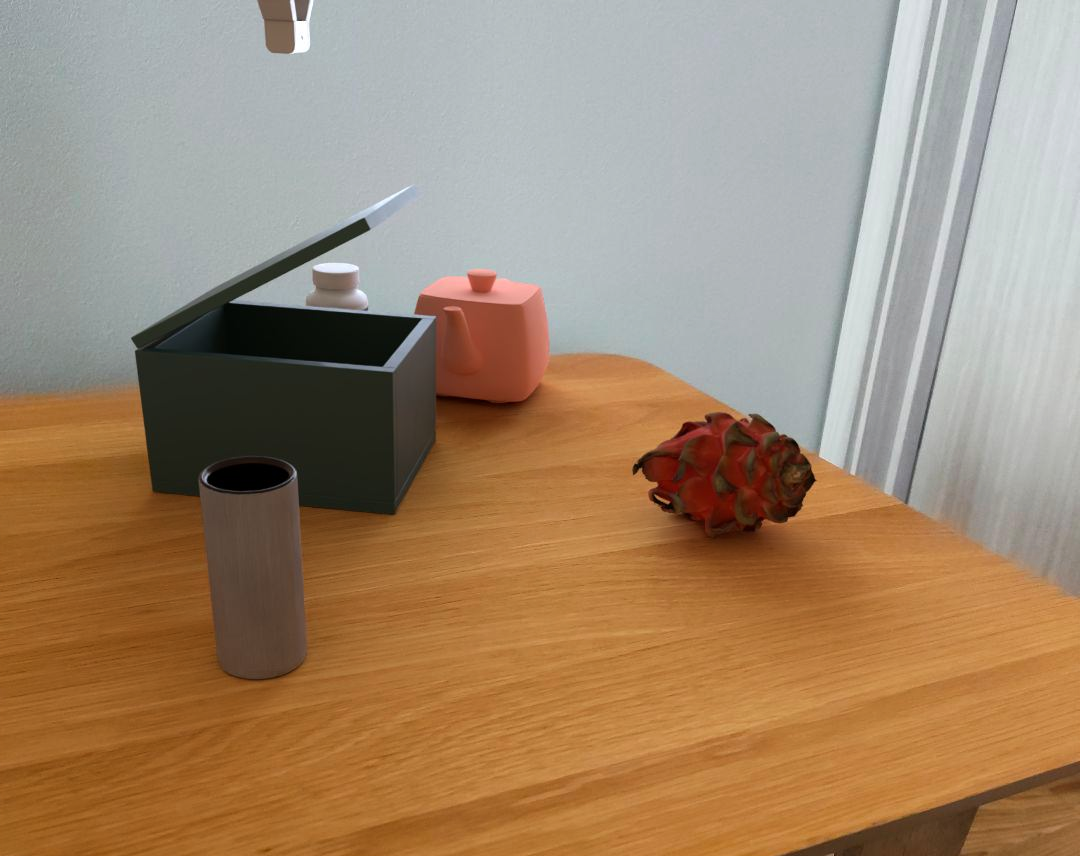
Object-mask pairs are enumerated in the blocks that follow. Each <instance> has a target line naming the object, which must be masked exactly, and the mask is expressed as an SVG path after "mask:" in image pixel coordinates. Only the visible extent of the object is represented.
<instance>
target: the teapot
mask: <svg viewBox="0 0 1080 856" xmlns="http://www.w3.org/2000/svg"><path fill="white" fill-rule="evenodd" d="M466 275H467V276H457V275H456V276H454V275H450V276H449V275H448V276H443V277H441V278H439V279H438V280H435V281H434V282H433V283H431V284H430V285H428V286H427V287H425V288H424V289H423V290H422V291H421V292H420V293H418V297H417V301H416V305H415V307H414V308H415V310H414V312H413V314H414V315H427V316H436V396H439V397H456V398H457V397H458V398H466V399H473V400H485V401H487V402H489V403H493V404H504V403H508V402H522V401H524V400H526V399H527V398H528V397H530V396H531V394H533V392H534V391H535V390H536V389H537V388H538V386H539V385H540V383H541V381H542V380H543V378H544V375H545V373H546V371H547V368H548V365H549V363H550V362H549V361H550V331H549V322H548V316H547V310H546V304H545V299H544V294H543V290H542V288H541V286H540V285H537V284H533V283H532V284H531V283H525V282H518V281H511V280H510V279H508V278H504V277H502V278H501V277H500V278H497V276H498V273H497V272H496V271H495V270H492V269H488V268H473V269H469V270H468V271H466Z"/></svg>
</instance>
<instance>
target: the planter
mask: <svg viewBox="0 0 1080 856" xmlns="http://www.w3.org/2000/svg"><path fill="white" fill-rule="evenodd" d="M199 489H200V496H199V498H200V508H201V518H202V527H203V536H204V547H205V554H206V555H205V556H206V566H207V574H208V585H209V596H210V603H211V604H210V605H211V613H212V623H213V633H214V642H215V651H216V657H217V658H216V659H217V662H218V665H219V666H220V668H221V669H222V670H223V671H225V672H226V673H227V674H229V675H230V676H234V677H237V678H241V679H247V680H264V679H272V678H275V677H279V676H283V675H286V674H288V673H290V672H292V671H294V670H295V669H297V668H298V667H299V666H301V665H302V663H303V662H304V661H305V660H306V657H307V654H308V642H307V641H308V638H307V636H308V635H307V621H306V605H305V604H306V603H305V587H304V585H305V584H304V583H305V582H304V569H303V568H304V567H303V552H302V534H301V533H302V532H301V517H300V506H299V497H298V480H297V472H296V470H295V468H294V467H293V466H292V465H290V464H289V463H287V462H285V461H283V460H280V459H276V458H271V457H262V456H244V457H235V458H230V459H225V460H222V461H219V462H216V463H213V464H211V465H210V466H208V467H206V468H205V469H204V470H203V471H202V472H201V473H200V475H199Z"/></svg>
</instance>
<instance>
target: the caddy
mask: <svg viewBox="0 0 1080 856" xmlns="http://www.w3.org/2000/svg"><path fill="white" fill-rule="evenodd" d="M134 356H135V364H136V370H137V372H136V373H137V380H138V387H139V396H140V403H141V411H142V412H141V413H142V418H143V427H144V435H145V444H146V451H147V459H148V466H149V468H148V469H149V476H150V481H151V491H152V492H153V493H159V494H160V493H161V494H172V495H173V494H174V495H183V496H194V497H200V489H199V475H200V473H201V472H202V471H203V470H204V469H205V468H206V467H208V466H210V465H211V464H213V463H216V462H219V461H222V460H225V459H230V458H235V457H244V456H262V457H271V458H276V459H280V460H283V461H285V462H287V463H289V464H290V465H292V466H293V467H294V468H295V470H296V472H297V480H298V497H299V507H300V506H301V507H307V508H308V507H309V508H321V509H330V510H342V511H350V512H351V511H352V512H362V513H363V512H364V513H373V514H383V515H396V513H397V511H398V509H399V508H400V506H401V504H402V502H403V501H404V499H405V496H406V495H407V494H408V492H409V490H410V488H411V486H412V484H413V483H414V480H415V479H416V477H417V475H418V473H419V471H420V469H421V468H422V466H423V464H424V463H425V461H426V460H427V457H428V455H429V453H430V452H431V450H432V448H433V446H434V445H435V443H436V440H437V395H436V316H427V315H414V313H412V314H411V313H401V312H387V311H376V310H375V311H374V310H368V311H364V310H351V309H338V308H326V307H313V306H306V305H299V304H286V303H275V302H262V301H261V302H260V301H249V300H236V299H234V300H233V301H231V302H229V303H227V304H225V305H223V306H221V307H219V308H217V309H215V310H213V311H211V312H209V313H207V314H205V315H203V316H201V317H199V318H197V319H195V320H193V321H191V322H189V323H188V324H186V325H184V326H182V327H180V328H178V329H176V330H174V331H172V332H170V333H168V334H166V335H164V336H162V337H160V338H158V339H156V340H154V341H152V342H150V343H148V344H146V345H145V346H143V347H141V348H136V349H135V350H134Z"/></svg>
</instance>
